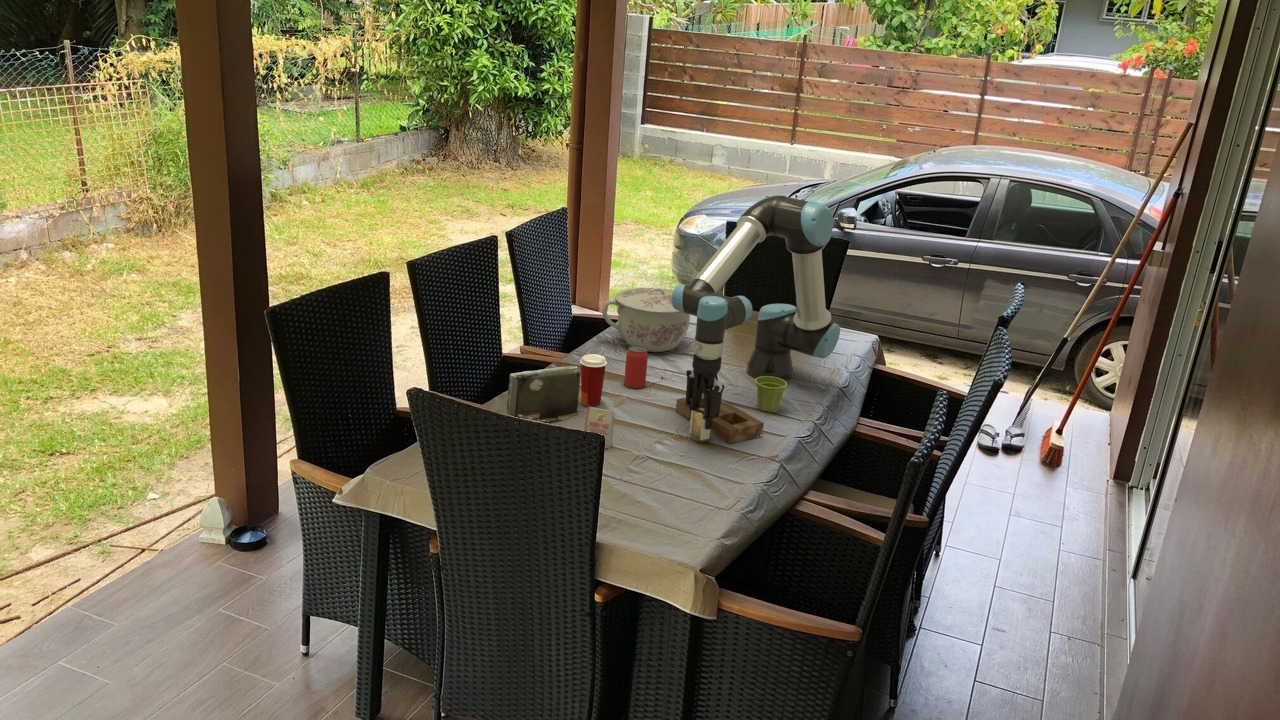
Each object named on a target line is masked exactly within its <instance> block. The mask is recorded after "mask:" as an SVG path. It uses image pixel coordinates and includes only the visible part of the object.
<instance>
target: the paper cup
mask: <svg viewBox="0 0 1280 720" xmlns="http://www.w3.org/2000/svg"><path fill="white" fill-rule="evenodd" d="M579 363H580V402H581V403H580V404H582V405H583V406H584V407H587V408H588V407H593V408H597V407H598V405H599V406H601V401H602V393H603V389H604V388H603V387H604V379H605V373H606V366H607V364H608V362H607V360H606V357H605V356H603V355H600V354H594V353H588V354H584V355H582V357H581V358H580V360H579Z"/></svg>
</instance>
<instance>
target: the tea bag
mask: <svg viewBox="0 0 1280 720" xmlns="http://www.w3.org/2000/svg"><path fill="white" fill-rule="evenodd" d="M614 428H615V420H614V411H613V410H608V409H603V408H599V407H588V406H587V414H586V418H585V423H584V432H585V431H591V432H594V433H600V434H603V435H605V436H606V448H605V449H606V450H609V449H610V448H611V446H612V445H613V443H614V442H613V441H614V430H615V429H614ZM607 447H608V449H607Z"/></svg>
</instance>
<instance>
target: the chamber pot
mask: <svg viewBox="0 0 1280 720" xmlns="http://www.w3.org/2000/svg"><path fill="white" fill-rule="evenodd" d="M673 291H674V290H672V289H667V288H666V289H665V288H659V287H635V288H628V289H624V290H621V291H619V292H617V293H616V294H615V298H613V297H610V298H607V300H605V301H604V303H603V304H602V309H601V313H602V317H603V318H604V320H605V321H606V323H607V324H608V325H610V327H612V328H614V329H615V330H616V331H617V332H618V334H619V335H620V336H621V337H622V338H623V339H624V340H625V342H626V344H628V345H629V347H630V346H642V347H645V348H646V349H647V353H662V352H663V353H664V352H667V351H673V350H674V349H676V347H678V346H679V345H680V344H681V342H682V341H683V339H685V337H686V335H687V333H688V330H689V327H690V320H691V317H690V316H691V315H690V314H685V313H683V312H680V311H678V310H676V309H674V307H673V306H672V303H671V297H672V293H673ZM611 305H614V306H616V307H617V310H616V312H617V314H618V315H617V321H618V324H617V323H615V322H614V321H612V320H611V318H610V317H609V316H608V313H607V312H608V307H609V306H611Z"/></svg>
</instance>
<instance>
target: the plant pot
mask: <svg viewBox="0 0 1280 720" xmlns="http://www.w3.org/2000/svg"><path fill="white" fill-rule="evenodd" d="M754 381H755V385H756V389H757V390H756V391H757V392H756V394H757V395H756V396H757V397H756V398H757V409H758V408H759V409H760V411H761V410H762V411H761V412H767V413H775V412H774V411H776V412H778V411H779V408H780V404H781V402H782V397H783V393H784V391H785V390H786V387H787V386H788V382H787V381H785V380H783V379H780V378H777V377H772V376H762V377H758V378H754ZM759 409H758V410H759Z"/></svg>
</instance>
